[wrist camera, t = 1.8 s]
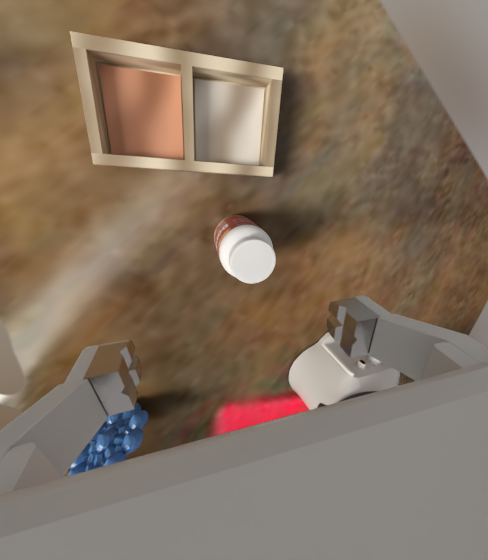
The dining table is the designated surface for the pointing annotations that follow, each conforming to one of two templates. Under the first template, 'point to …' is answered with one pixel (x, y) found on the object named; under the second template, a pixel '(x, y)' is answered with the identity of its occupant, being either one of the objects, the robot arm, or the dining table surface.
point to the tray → (177, 108)
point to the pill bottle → (244, 249)
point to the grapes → (112, 441)
